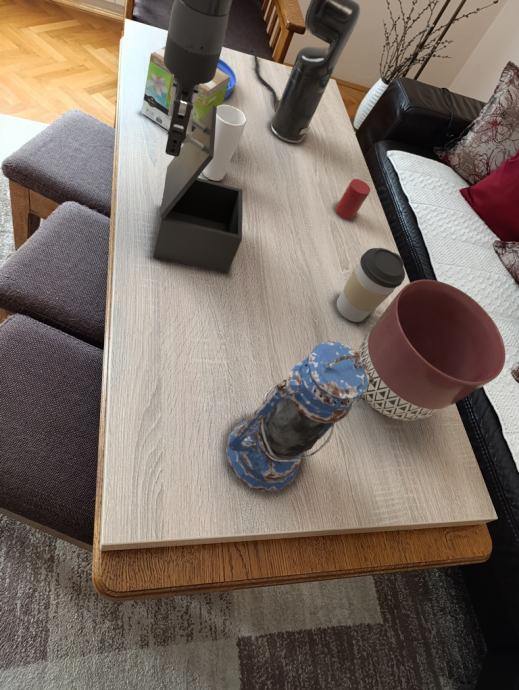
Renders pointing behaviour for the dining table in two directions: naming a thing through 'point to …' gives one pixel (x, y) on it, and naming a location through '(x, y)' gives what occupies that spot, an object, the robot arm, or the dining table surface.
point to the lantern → (296, 416)
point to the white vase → (225, 140)
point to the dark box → (202, 227)
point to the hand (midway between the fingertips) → (174, 137)
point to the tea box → (160, 89)
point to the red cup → (352, 199)
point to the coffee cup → (370, 283)
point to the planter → (429, 351)
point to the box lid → (189, 160)
